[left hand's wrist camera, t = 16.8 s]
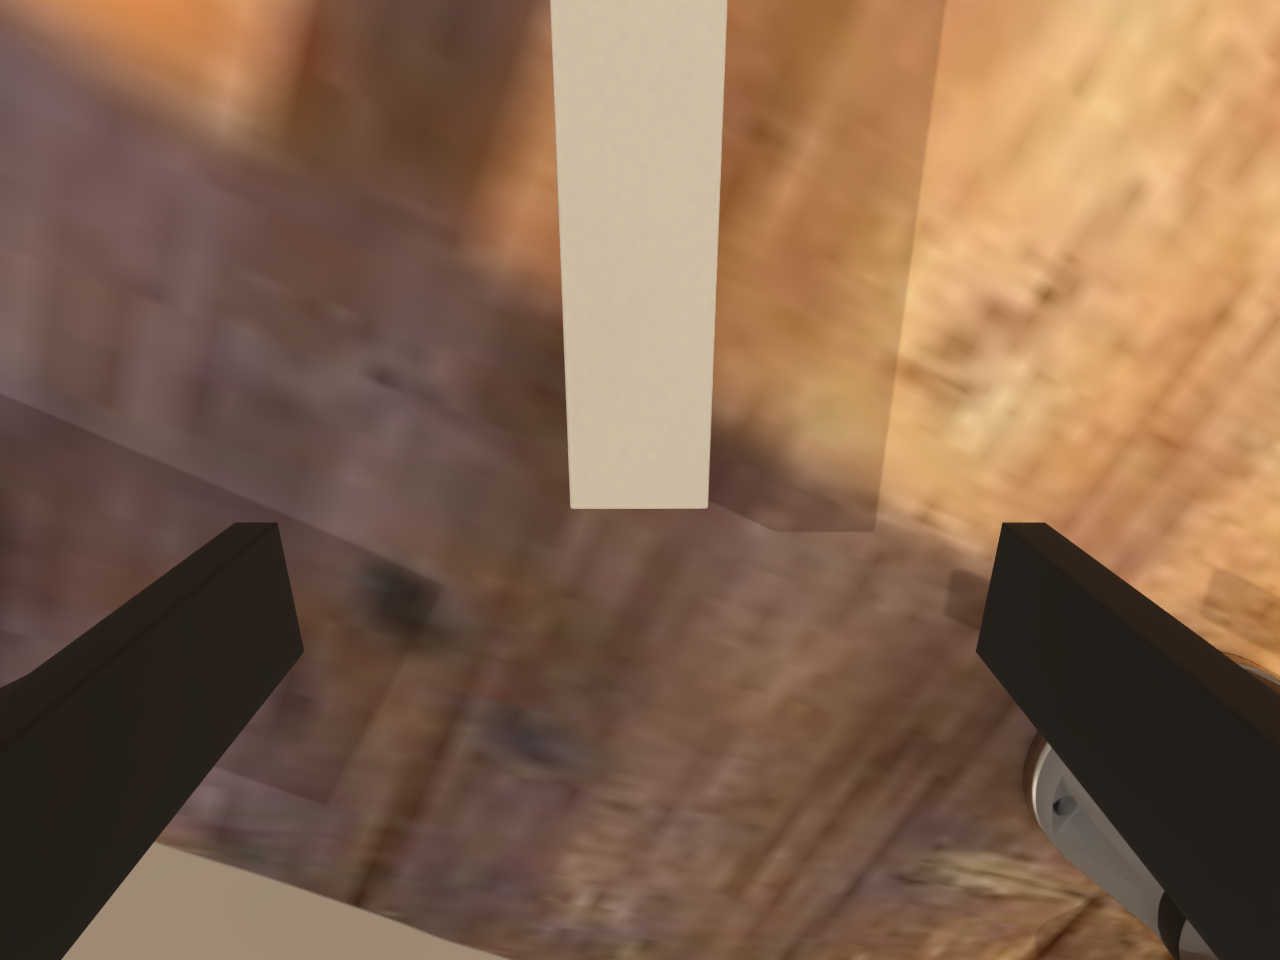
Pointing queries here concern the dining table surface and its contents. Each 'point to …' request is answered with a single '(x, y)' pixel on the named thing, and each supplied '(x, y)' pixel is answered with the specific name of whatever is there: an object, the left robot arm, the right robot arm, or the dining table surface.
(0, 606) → the dining table surface
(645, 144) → the bar
